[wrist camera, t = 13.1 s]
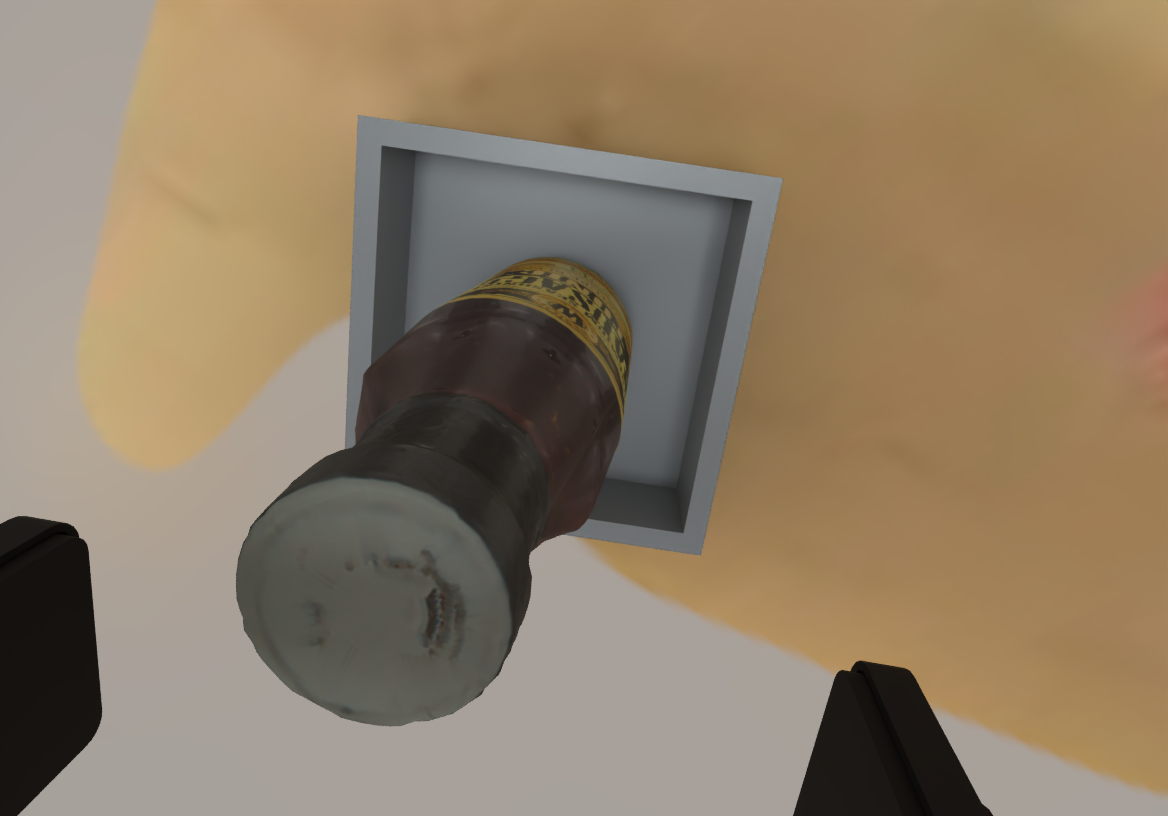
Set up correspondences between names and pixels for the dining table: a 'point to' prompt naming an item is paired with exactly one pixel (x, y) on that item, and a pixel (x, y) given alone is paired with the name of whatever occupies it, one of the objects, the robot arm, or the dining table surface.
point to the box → (603, 244)
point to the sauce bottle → (442, 498)
